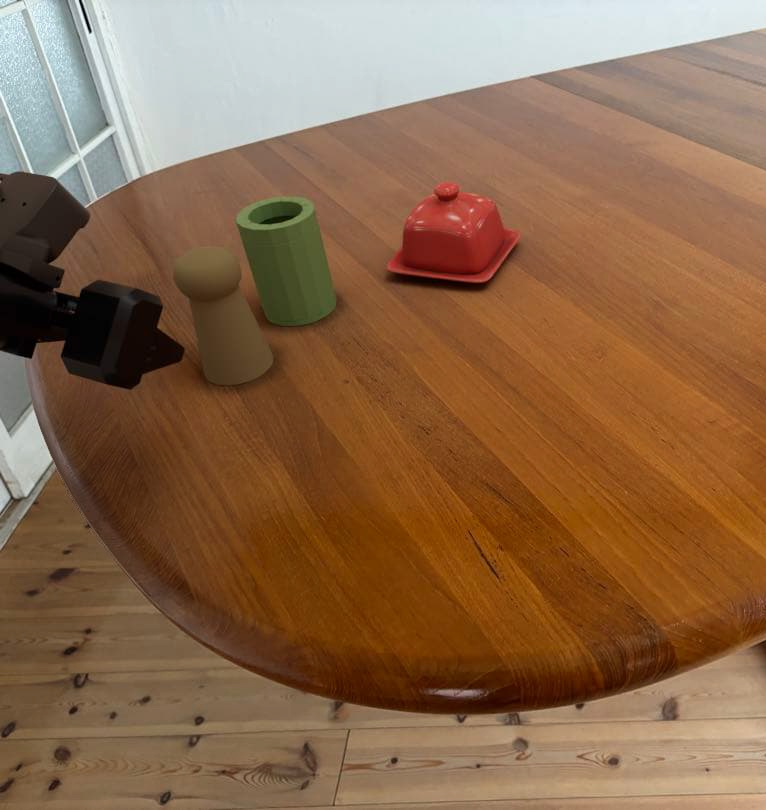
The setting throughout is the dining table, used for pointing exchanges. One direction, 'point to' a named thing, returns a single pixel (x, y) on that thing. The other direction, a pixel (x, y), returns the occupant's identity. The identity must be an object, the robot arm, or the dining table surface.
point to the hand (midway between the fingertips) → (136, 342)
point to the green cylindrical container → (287, 260)
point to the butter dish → (453, 238)
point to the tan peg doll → (222, 316)
